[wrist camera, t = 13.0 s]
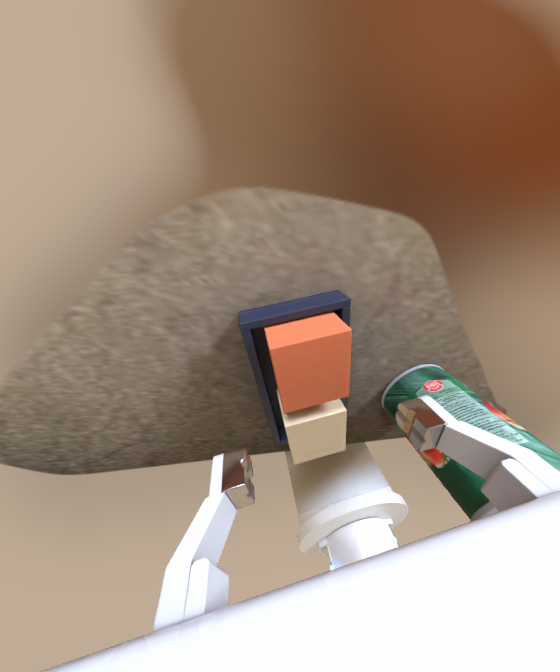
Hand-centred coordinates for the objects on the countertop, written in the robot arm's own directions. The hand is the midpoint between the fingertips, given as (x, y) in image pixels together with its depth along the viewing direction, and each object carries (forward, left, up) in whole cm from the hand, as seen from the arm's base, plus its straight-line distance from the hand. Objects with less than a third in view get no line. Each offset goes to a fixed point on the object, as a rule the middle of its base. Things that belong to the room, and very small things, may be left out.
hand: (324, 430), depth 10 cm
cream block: (-7, -1, -8) cm, 10 cm away
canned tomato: (-10, -14, -8) cm, 19 cm away
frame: (-3, -1, -8) cm, 9 cm away
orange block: (0, -1, -8) cm, 8 cm away
